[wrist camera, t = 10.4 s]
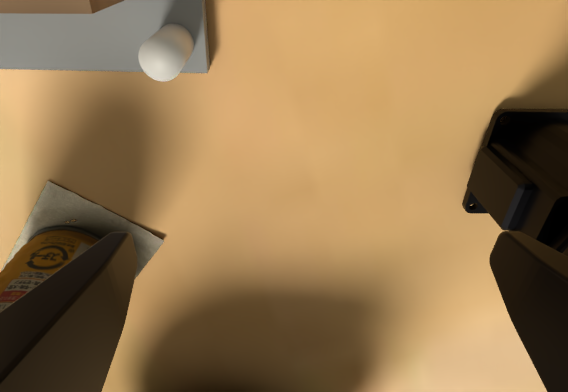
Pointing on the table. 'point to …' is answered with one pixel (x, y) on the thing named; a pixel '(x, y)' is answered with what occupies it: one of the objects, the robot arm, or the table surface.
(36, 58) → the chassis
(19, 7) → the block
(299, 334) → the table surface
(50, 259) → the condiment
